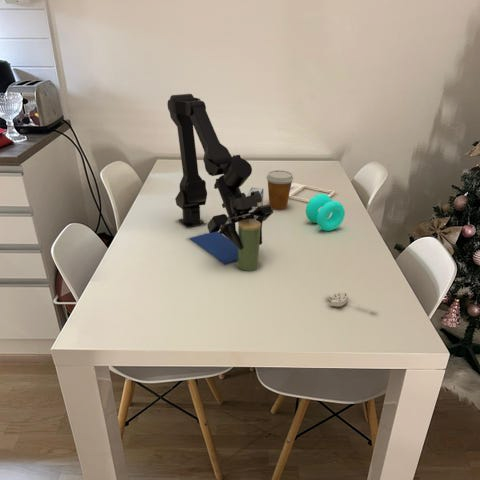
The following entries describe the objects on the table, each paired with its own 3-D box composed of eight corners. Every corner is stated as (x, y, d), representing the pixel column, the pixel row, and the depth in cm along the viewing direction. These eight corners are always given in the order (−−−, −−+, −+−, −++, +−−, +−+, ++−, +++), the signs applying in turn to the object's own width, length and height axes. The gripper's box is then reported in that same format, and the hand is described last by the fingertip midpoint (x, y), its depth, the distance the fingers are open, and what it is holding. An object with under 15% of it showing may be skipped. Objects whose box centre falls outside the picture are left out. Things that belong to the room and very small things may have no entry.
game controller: (328, 295, 128) (330, 286, 126) (373, 302, 126) (375, 293, 124) (326, 306, 123) (328, 298, 122) (373, 313, 121) (375, 305, 120)
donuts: (318, 234, 159) (322, 204, 154) (302, 222, 167) (305, 194, 161) (344, 229, 163) (348, 200, 157) (327, 218, 170) (331, 190, 165)
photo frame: (293, 182, 198) (335, 190, 190) (293, 184, 198) (334, 193, 191) (276, 192, 187) (320, 202, 180) (276, 195, 188) (319, 205, 181)
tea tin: (236, 260, 143) (237, 219, 135) (257, 260, 143) (259, 218, 136) (238, 271, 138) (239, 228, 130) (259, 270, 138) (262, 227, 131)
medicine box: (259, 220, 168) (260, 195, 163) (246, 218, 169) (247, 194, 164) (262, 211, 174) (263, 187, 170) (250, 210, 175) (251, 186, 170)
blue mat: (189, 239, 154) (189, 238, 154) (216, 232, 159) (216, 231, 159) (224, 264, 141) (224, 263, 141) (252, 255, 146) (252, 254, 145)
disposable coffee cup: (293, 204, 181) (296, 171, 174) (287, 213, 174) (290, 179, 167) (269, 200, 184) (270, 168, 177) (261, 209, 176) (263, 176, 169)
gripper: (211, 187, 126) (233, 243, 124) (271, 176, 134) (292, 228, 133) (198, 206, 136) (218, 258, 134) (254, 195, 144) (273, 243, 143)
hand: (251, 246), depth 136 cm, fingers closed on tea tin, 6 cm apart
